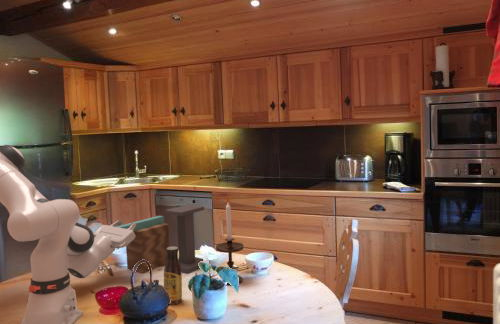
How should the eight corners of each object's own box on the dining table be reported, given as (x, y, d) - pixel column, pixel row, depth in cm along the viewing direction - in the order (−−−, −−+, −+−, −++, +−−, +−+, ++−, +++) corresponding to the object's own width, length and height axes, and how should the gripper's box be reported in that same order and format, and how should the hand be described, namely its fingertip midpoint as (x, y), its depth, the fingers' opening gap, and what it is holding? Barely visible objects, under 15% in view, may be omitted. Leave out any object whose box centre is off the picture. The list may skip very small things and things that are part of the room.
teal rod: (120, 234, 190) (120, 227, 189) (116, 233, 192) (115, 226, 191) (164, 222, 209) (163, 216, 208) (159, 222, 211) (159, 215, 210)
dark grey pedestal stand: (187, 273, 193) (184, 213, 190) (164, 268, 201) (161, 209, 198) (210, 264, 204) (207, 207, 201) (187, 259, 212) (184, 204, 209)
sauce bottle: (161, 303, 162) (158, 249, 160) (171, 297, 168) (169, 244, 166) (175, 306, 159) (173, 251, 157) (186, 300, 165) (183, 246, 163)
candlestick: (237, 287, 175) (233, 197, 171) (212, 284, 180) (208, 196, 176) (249, 278, 185) (246, 192, 181) (225, 275, 189) (222, 191, 186)
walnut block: (142, 273, 195) (139, 232, 193) (127, 269, 201) (124, 229, 199) (170, 263, 208) (168, 224, 206) (155, 259, 214) (153, 221, 212)
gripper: (116, 243, 177) (140, 219, 186) (86, 236, 190) (109, 214, 199) (123, 255, 181) (146, 231, 189) (93, 247, 193) (116, 225, 202)
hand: (127, 222), depth 194 cm, fingers open, 8 cm apart
